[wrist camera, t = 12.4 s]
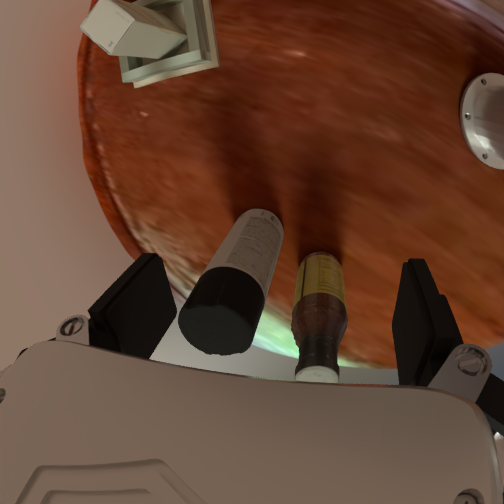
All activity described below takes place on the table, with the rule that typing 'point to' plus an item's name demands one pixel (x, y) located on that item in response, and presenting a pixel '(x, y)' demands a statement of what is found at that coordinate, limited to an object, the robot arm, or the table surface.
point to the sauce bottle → (319, 317)
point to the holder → (189, 55)
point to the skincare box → (133, 30)
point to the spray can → (234, 286)
